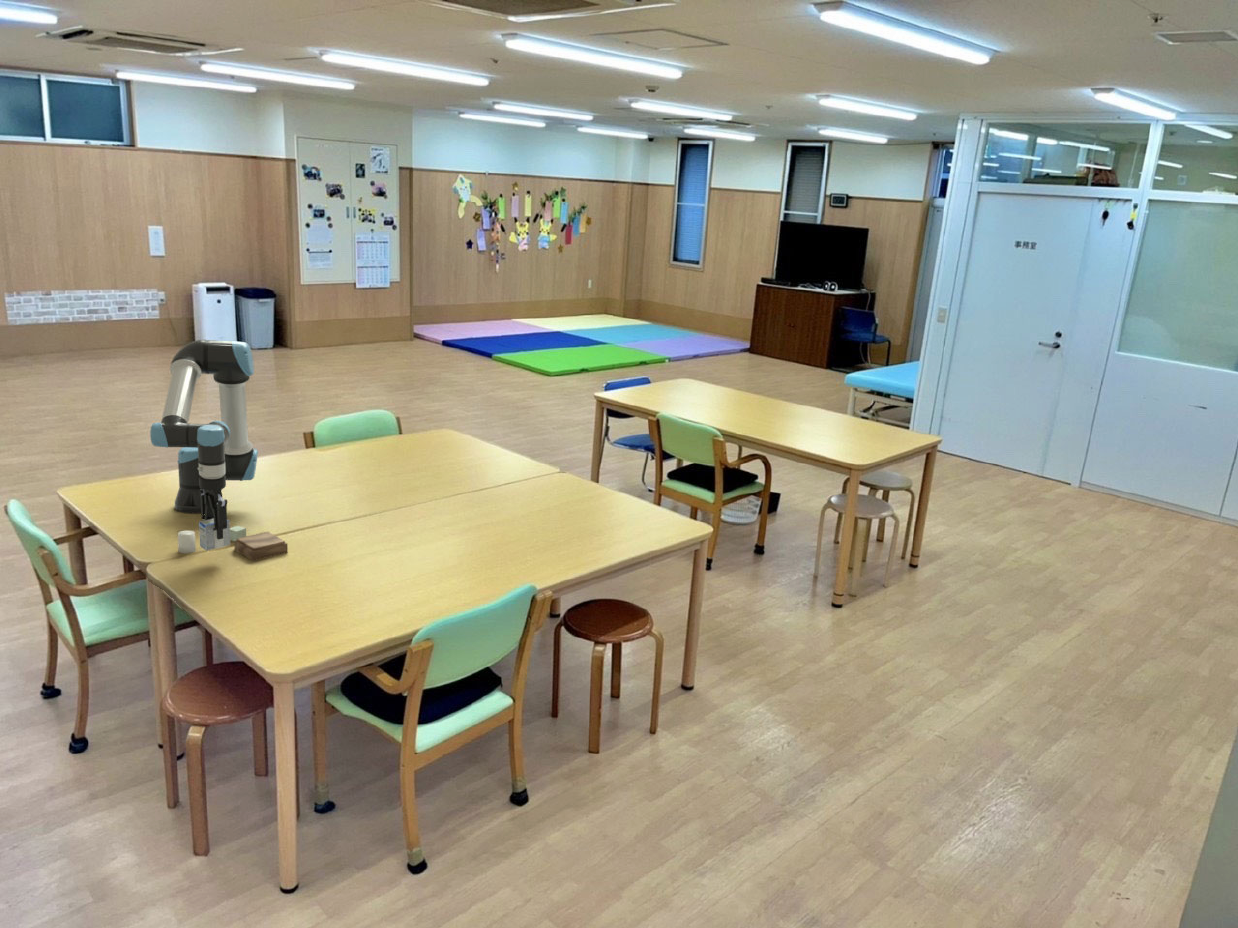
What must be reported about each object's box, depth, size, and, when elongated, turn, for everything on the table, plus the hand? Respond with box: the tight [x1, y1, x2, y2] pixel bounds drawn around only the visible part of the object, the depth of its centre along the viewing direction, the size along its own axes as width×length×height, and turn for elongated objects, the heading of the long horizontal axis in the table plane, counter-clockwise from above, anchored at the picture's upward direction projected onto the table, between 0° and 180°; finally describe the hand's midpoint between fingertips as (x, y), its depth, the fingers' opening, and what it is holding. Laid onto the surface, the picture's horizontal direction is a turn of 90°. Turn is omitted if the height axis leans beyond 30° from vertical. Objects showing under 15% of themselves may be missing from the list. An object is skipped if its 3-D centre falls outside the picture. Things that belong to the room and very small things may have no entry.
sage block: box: [230, 525, 247, 543], centre depth 307 cm, size 4×4×4 cm
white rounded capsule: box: [177, 530, 196, 554], centre depth 294 cm, size 5×5×6 cm
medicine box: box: [198, 518, 231, 552], centre depth 285 cm, size 8×4×9 cm, turn 140°
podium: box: [234, 531, 289, 562], centre depth 299 cm, size 12×12×4 cm
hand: (215, 544), depth 286 cm, fingers closed on medicine box, 4 cm apart
